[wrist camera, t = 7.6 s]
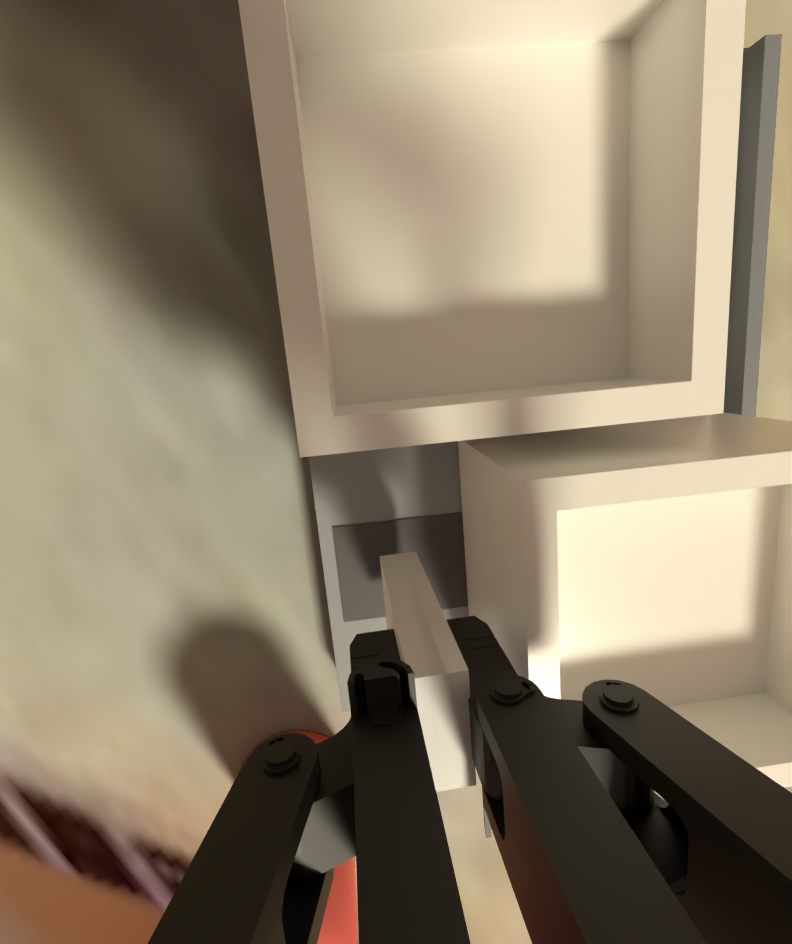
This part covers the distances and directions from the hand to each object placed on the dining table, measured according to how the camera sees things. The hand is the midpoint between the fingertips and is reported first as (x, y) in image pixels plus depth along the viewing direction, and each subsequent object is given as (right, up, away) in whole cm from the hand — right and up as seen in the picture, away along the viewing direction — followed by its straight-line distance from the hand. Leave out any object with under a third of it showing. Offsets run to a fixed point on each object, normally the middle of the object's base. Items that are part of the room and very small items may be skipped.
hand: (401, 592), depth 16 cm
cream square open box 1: (+1, +11, -1) cm, 11 cm away
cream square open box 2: (+7, +1, +2) cm, 7 cm away
